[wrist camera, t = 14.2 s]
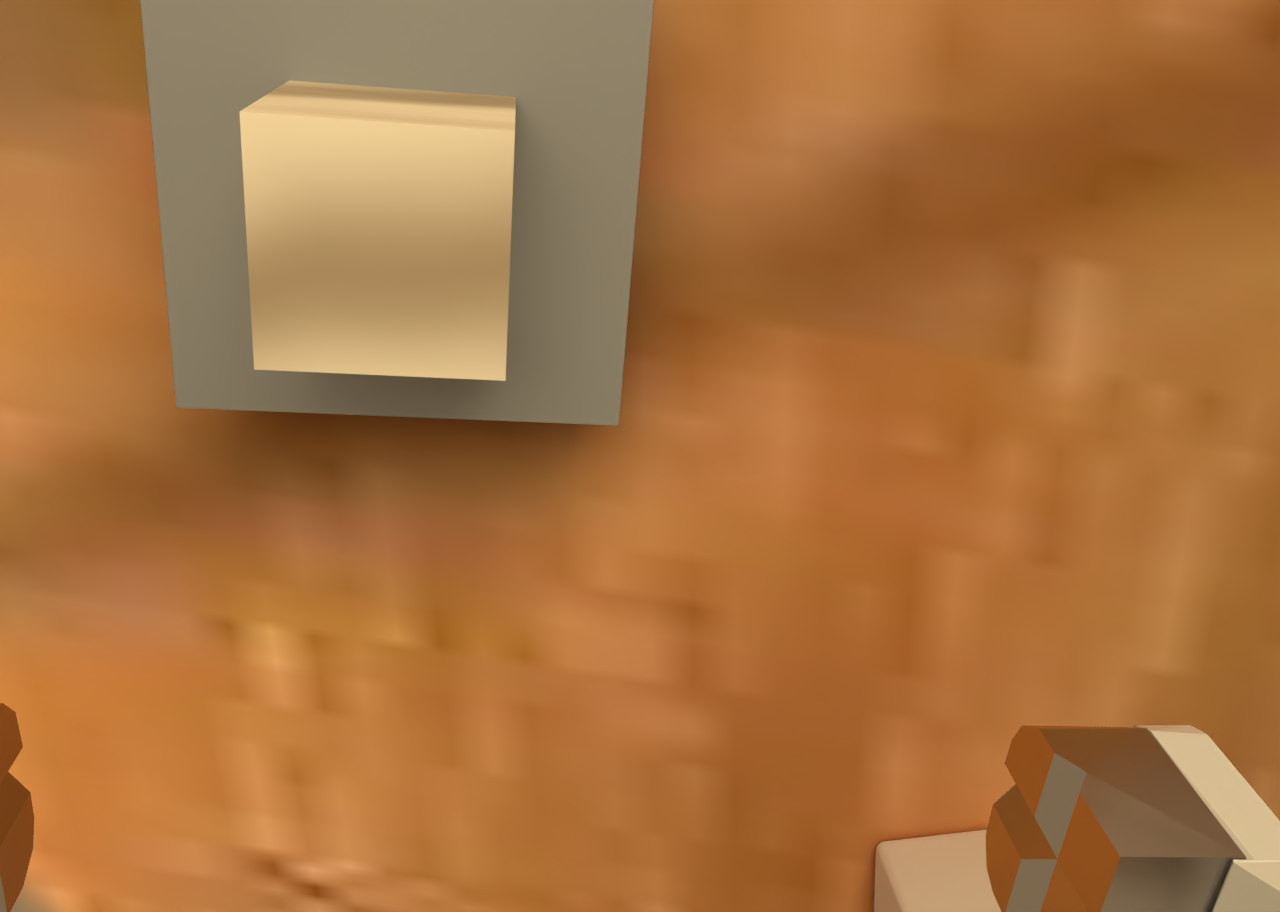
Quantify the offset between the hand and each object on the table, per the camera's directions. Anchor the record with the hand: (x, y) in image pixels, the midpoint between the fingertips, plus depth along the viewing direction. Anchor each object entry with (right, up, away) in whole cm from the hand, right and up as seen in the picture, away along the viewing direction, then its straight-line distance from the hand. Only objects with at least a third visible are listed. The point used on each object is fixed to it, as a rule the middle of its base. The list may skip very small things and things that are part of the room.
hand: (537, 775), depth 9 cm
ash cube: (-5, +9, +17) cm, 20 cm away
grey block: (-5, +11, +22) cm, 25 cm away
